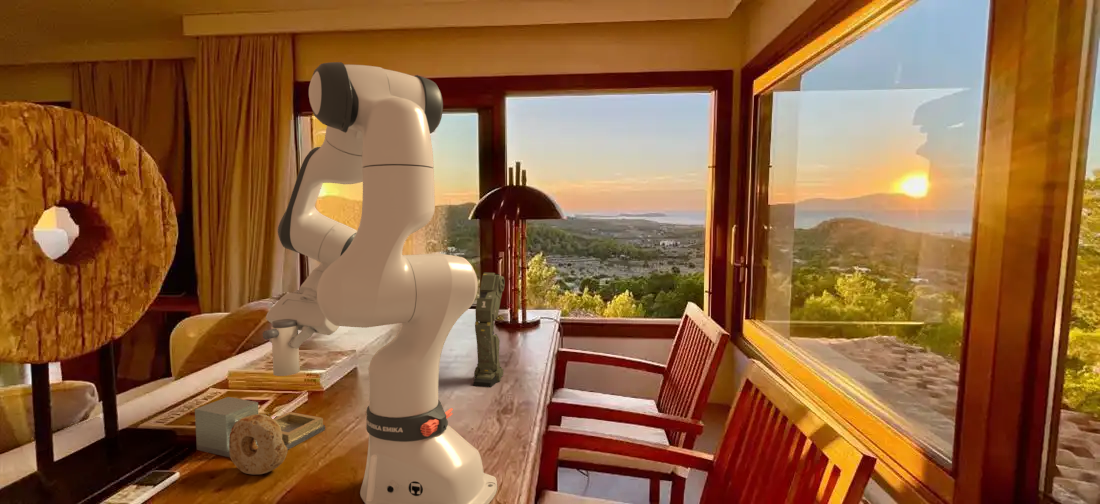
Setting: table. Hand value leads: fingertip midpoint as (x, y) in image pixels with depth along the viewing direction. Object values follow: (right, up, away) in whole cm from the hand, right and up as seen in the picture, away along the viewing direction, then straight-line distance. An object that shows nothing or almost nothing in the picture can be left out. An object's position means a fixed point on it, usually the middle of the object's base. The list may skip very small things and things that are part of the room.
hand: (282, 345), depth 113 cm
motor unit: (-1, -18, -5) cm, 19 cm away
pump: (0, -6, 0) cm, 6 cm away
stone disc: (+5, -19, -18) cm, 27 cm away
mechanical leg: (+40, -15, +33) cm, 54 cm away
